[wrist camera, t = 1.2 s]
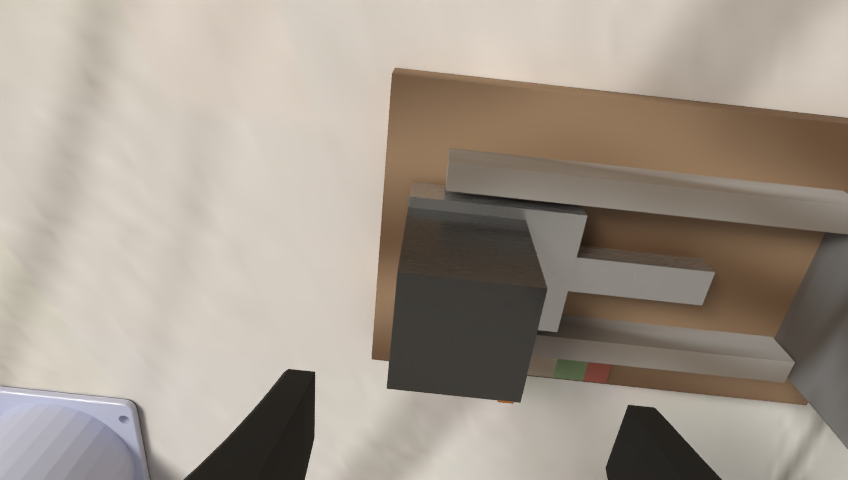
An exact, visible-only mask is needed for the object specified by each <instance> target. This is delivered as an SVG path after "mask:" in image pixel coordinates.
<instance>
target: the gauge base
mask: <svg viewBox="0 0 848 480" xmlns="http://www.w3.org/2000/svg"><path fill="white" fill-rule="evenodd" d="M412 182H419V183H428V184H437V185H446V191H453V192H462V193H471V194H481V195H490V196H499V197H508V198H517V199H527V200H536V201H545V202H554V203H563V204H573V205H582V207H583V209H584V210H585V212H586V214H587V220H586V223H585V227H584V231H583V235H582V239H581V243H580V246H589V247H598V248H607V249H616V250H626V251H635V252H644V253H653V254H663V255H672V256H681V257H690V258H700V259H704V260H705V261H706V263H707V264H708V265H709V266H710V267H711V268H712V269H713V270H714V272H715V274H714V277H713V279H712V282H711V284H710V287H709V289H708V292H707V294H706V297H705V299H704V302H703V305H693V304H684V303H674V302H665V301H656V300H646V299H637V298H628V297H618V296H609V295H600V294H590V293H581V292H572V291H568V293H567V297H566V301H565V304H564V308H563V312H562V316H561V320H560V324H559V328H558V331H557V332H551V331H542V330H538V331H537V335H536V339H535V344H534V348H533V352H532V356H531V360H530V365H529V369H528V373H527V376H535V377H545V378H554V379H564V380H573V381H583V382H592V383H602V384H611V385H620V386H630V387H639V388H649V389H658V390H668V391H677V392H687V393H696V394H706V395H715V396H725V397H734V398H744V399H753V400H763V401H772V402H782V403H791V404H800V405H807V403H808V402H809V403H810V404H811V406H812V407H813V408H814V409H815V410H816V412H817V413H818V414H819V415H820V416H821V418H822V419H823V420H824V421H825V422H826V424H827V425H828V426H829V427H830V428H831V429H832V431H833V432H834V433H835V434H836V435H837V437H838V438H839V439H840V440H841V441H842V443H843V444H844V445H845V446H846V447H847V449H848V118H844V117H835V116H826V115H817V114H808V113H798V112H789V111H780V110H771V109H762V108H753V107H744V106H735V105H726V104H717V103H708V102H699V101H690V100H681V99H672V98H663V97H654V96H645V95H636V94H627V93H618V92H609V91H600V90H591V89H582V88H573V87H564V86H555V85H546V84H537V83H528V82H519V81H509V80H500V79H491V78H482V77H473V76H464V75H455V74H446V73H437V72H428V71H419V70H410V69H401V68H395V69H394V71H393V73H392V82H391V96H390V110H389V124H388V138H387V152H386V166H385V180H384V194H383V208H382V222H381V236H380V250H379V264H378V278H377V292H376V305H375V319H374V333H373V347H372V359H374V360H384V361H389V358H390V347H391V336H392V325H393V314H394V303H395V292H396V281H397V271H398V265H399V259H400V253H401V247H402V241H403V235H404V229H405V223H406V218H407V212H408V204H409V195H410V189H411V183H412Z"/></svg>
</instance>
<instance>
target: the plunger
mask: <svg viewBox="0 0 848 480" xmlns="http://www.w3.org/2000/svg"><path fill="white" fill-rule="evenodd" d="M586 220H587V214H586V212H585V210H584V209H583V207H582V205H573V204H563V203H554V202H545V201H536V200H527V199H517V198H508V197H499V196H490V195H481V194H471V193H462V192H453V191H446V185H437V184H428V183H419V182H412V183H411V189H410V195H409V204H408V212H407V218H406V223H405V229H404V235H403V241H402V247H401V253H400V259H399V265H398V271H397V281H396V292H395V303H394V314H393V325H392V336H391V347H390V358H389V369H388V381H387V389H396V390H405V391H415V392H424V393H434V394H443V395H453V396H462V397H472V398H481V399H491V400H498V402H503V403H512V404H513V402H519V403H520V402H521V398H522V394H523V390H524V386H525V381H526V377H527V373H528V369H529V365H530V360H531V356H532V352H533V348H534V344H535V339H536V335H537V331H538V330H542V331H551V332H557V331H558V328H559V324H560V320H561V316H562V312H563V308H564V304H565V301H566V297H567V293H568V291H572V292H581V293H590V294H600V295H609V296H618V297H628V298H637V299H646V300H656V301H665V302H674V303H684V304H693V305H703V302H704V299H705V297H706V294H707V292H708V289H709V287H710V284H711V282H712V279H713V277H714V274H715V272H714V270H713V269H712V268H711V267H710V266H709V265H708V264H707V263H706V261H705V260H704V259H700V258H690V257H681V256H672V255H663V254H653V253H644V252H635V251H626V250H616V249H607V248H598V247H589V246H580V243H581V239H582V235H583V231H584V227H585V223H586Z"/></svg>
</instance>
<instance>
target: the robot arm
mask: <svg viewBox="0 0 848 480" xmlns="http://www.w3.org/2000/svg"><path fill="white" fill-rule="evenodd" d="M314 426H315V372H311V371H302V370H292V369H288V370H287V371H285V372H284V373H283V374H282V375H281V377H280V378H279V379H278V381H277V382H276V383H275V384H274V386H273V387H272V388H271V389H270V391H269V392H268V393H267V394H266V395H265V397H264V398H263V399H262V400H261V401H260V402H259V404H258V405H257V406H256V407H255V408H254V409H253V411H252V412H251V413H250V414H249V415H248V416H247V417H246V418H245V419H244V420H243V421H242V423H241V424H240V425H239V426H238V427H237V428H236V429H235V430H234V431H233V432H232V433H231V434H230V435H229V437H228V438H227V439H226V440H225V441H224V442H223V443H222V444H221V445H220V446H219V447H217V448H216V449H215V450H214V451H213V452H212V453H211V454H210V455H209V456H208V457H207V458H206V459H205V460H204V461H203V462H202V463H201V464H200V465H199V466H198V467H197V468H196V469H195V470H194V471H193V472H191V473H190V474H189V475H188V476H187V477H186V478H185V479H184V480H305V476H306V472H307V467H308V463H309V459H310V454H311V450H312V446H313V441H314ZM606 472H607V478H608V480H722V479H721V478H720V477H719V476H718V475H717V474H716V473H715V472H714V471H713V470H712V469H711V468H710V467H709V466H708V465H707V463H706V462H705V461H704V460H703V459H702V458H701V457H700V456H699V455H698V454H697V453H696V452H695V451H694V449H693V448H692V447H691V446H690V445H689V444H688V443H687V442H686V441H685V440H684V439H683V437H682V436H681V435H680V434H679V433H678V432H677V431H676V430H675V429H674V428H673V426H672V425H671V424H670V423H669V422H668V421H667V420H666V419H665V418H664V417H663V416H662V415H661V414H660V413H659V412H658V411H657V410H656V409H655V408H653V407H643V406H634V405H628V407H627V410H626V413H625V415H624V418H623V421H622V424H621V426H620V429H619V432H618V435H617V438H616V440H615V443H614V446H613V449H612V452H611V454H610V457H609V460H608V463H607V466H606ZM0 480H150V478H149V472H148V467H147V462H146V456H145V451H144V445H143V440H142V435H141V429H140V424H139V418H138V413H137V408H136V406H135V404H134V403H133V402H131V401H130V400H126V399H117V398H108V397H98V396H89V395H79V394H69V393H60V392H50V391H41V390H31V389H21V388H12V387H2V386H0Z"/></svg>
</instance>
